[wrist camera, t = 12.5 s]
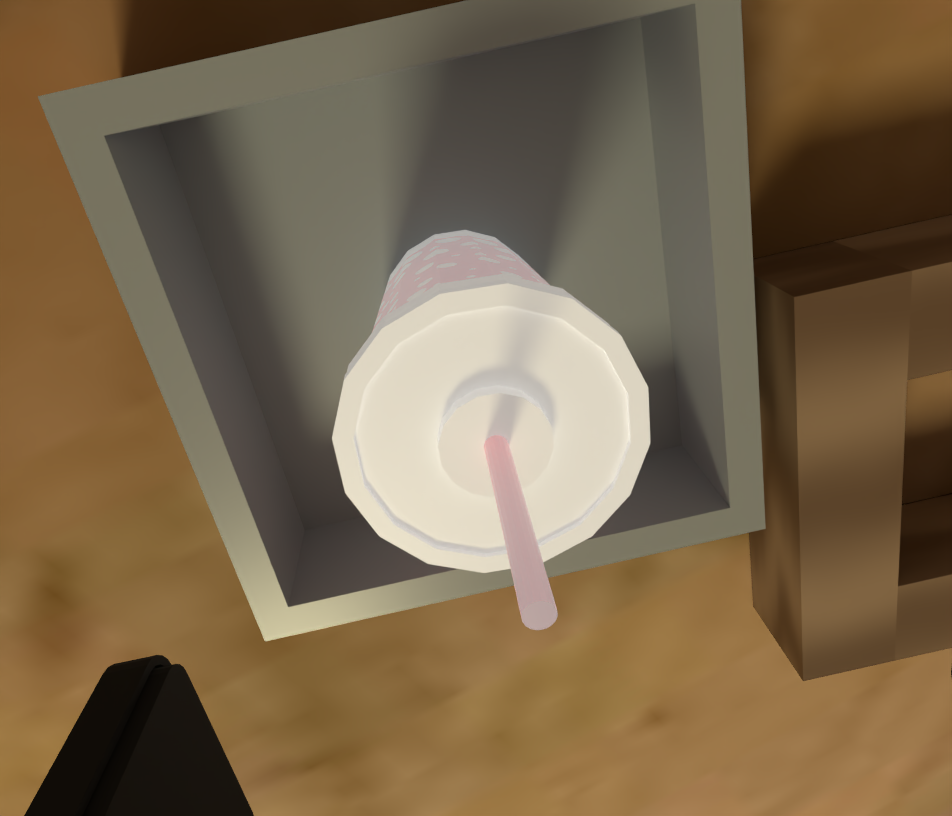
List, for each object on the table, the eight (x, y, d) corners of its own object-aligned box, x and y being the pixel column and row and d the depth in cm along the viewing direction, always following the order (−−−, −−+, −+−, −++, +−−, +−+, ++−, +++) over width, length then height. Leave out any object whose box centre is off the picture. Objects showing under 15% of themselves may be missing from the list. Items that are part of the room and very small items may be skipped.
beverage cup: (550, 402, 24) (721, 776, 11) (357, 398, 23) (305, 792, 10) (572, 207, 21) (823, 402, 9) (357, 197, 21) (287, 392, 8)
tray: (702, 450, 26) (765, 528, 22) (288, 543, 26) (264, 641, 22) (662, -29, 20) (738, -61, 16) (120, 92, 20) (38, 96, 16)
